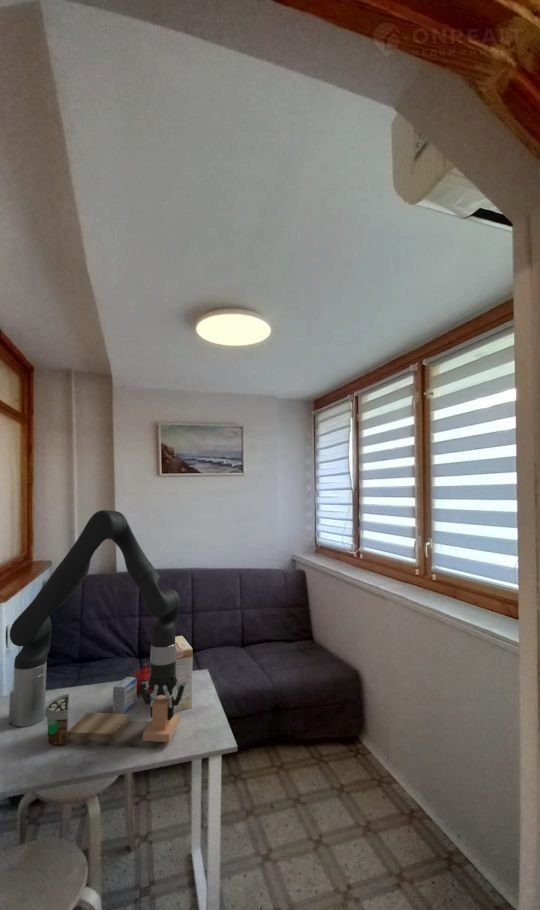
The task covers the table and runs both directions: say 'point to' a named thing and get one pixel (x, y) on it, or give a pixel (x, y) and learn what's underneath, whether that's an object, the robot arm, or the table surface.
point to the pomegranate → (142, 678)
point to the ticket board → (124, 737)
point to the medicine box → (124, 695)
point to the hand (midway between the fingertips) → (162, 718)
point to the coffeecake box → (183, 672)
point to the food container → (57, 720)
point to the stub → (161, 722)
